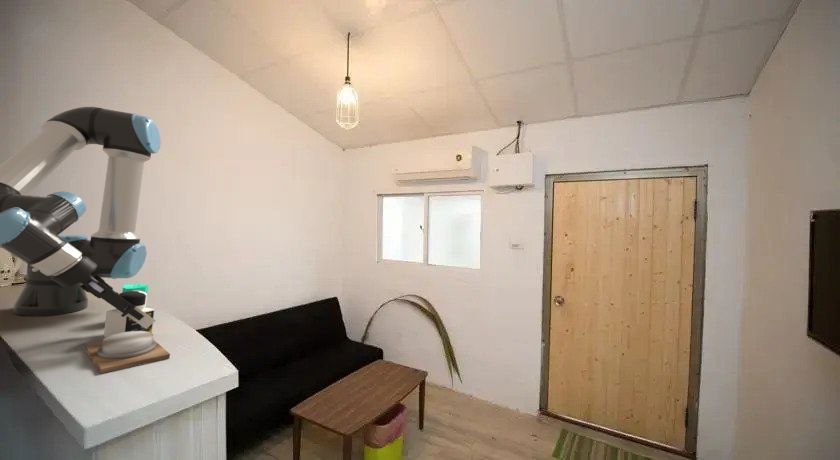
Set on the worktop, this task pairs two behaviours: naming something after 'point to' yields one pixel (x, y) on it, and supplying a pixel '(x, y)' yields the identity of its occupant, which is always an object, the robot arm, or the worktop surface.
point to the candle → (136, 288)
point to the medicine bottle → (126, 324)
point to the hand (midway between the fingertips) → (144, 319)
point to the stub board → (124, 362)
